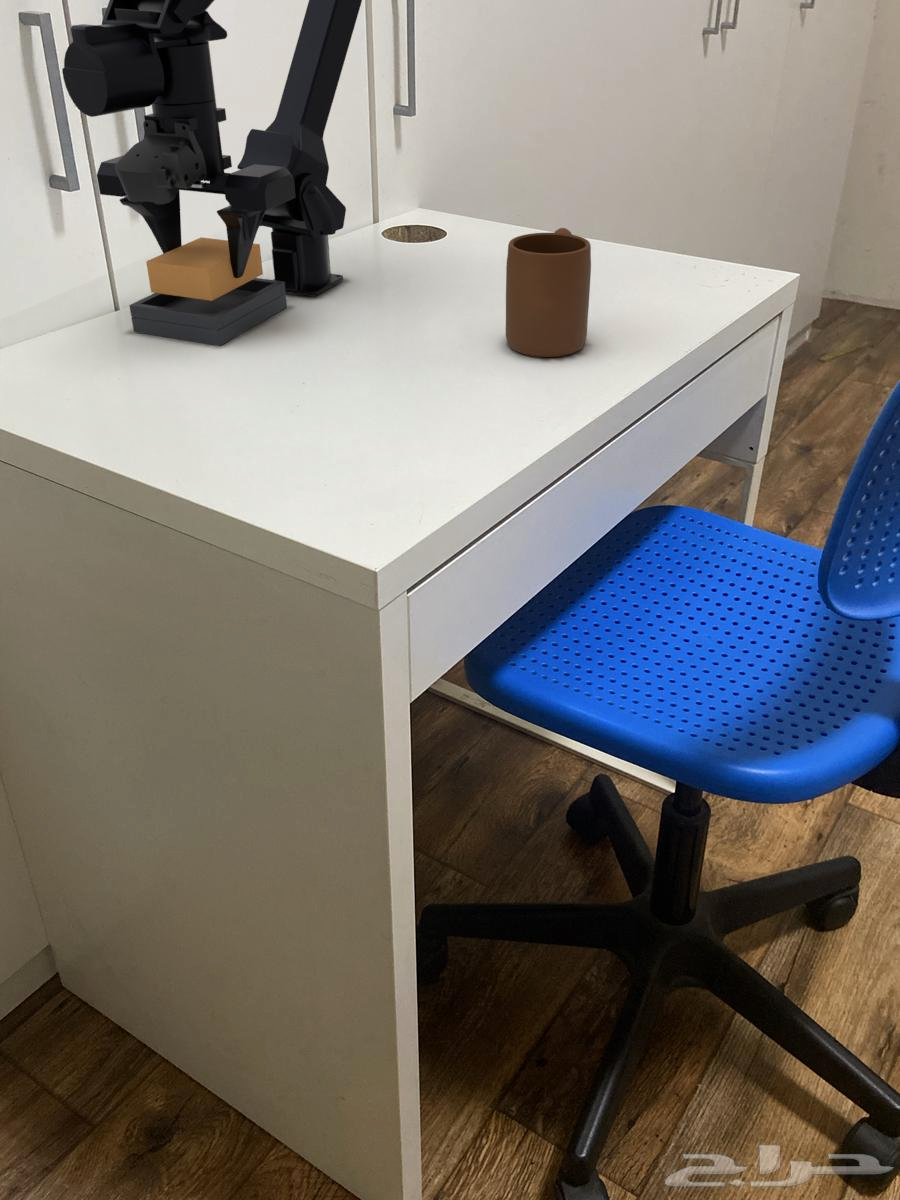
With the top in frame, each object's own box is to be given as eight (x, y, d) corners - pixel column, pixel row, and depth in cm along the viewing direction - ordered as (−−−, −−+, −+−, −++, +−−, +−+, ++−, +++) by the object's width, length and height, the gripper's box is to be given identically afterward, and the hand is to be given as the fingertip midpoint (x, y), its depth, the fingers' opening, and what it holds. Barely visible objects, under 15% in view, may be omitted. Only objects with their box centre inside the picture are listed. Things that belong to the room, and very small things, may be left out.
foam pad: (205, 266, 112) (200, 237, 111) (263, 274, 110) (259, 244, 108) (150, 292, 105) (145, 261, 104) (211, 301, 103) (207, 269, 101)
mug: (525, 313, 110) (527, 217, 105) (600, 319, 108) (606, 222, 103) (496, 355, 100) (497, 251, 95) (578, 362, 99) (584, 257, 93)
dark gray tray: (205, 295, 116) (201, 270, 115) (287, 307, 113) (284, 281, 111) (133, 332, 107) (128, 304, 105) (220, 345, 103) (216, 318, 102)
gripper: (40, 108, 96) (76, 285, 104) (219, 122, 89) (242, 309, 98) (121, 89, 104) (148, 254, 113) (290, 100, 98) (305, 274, 106)
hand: (206, 273), depth 107 cm, fingers closed on foam pad, 7 cm apart
